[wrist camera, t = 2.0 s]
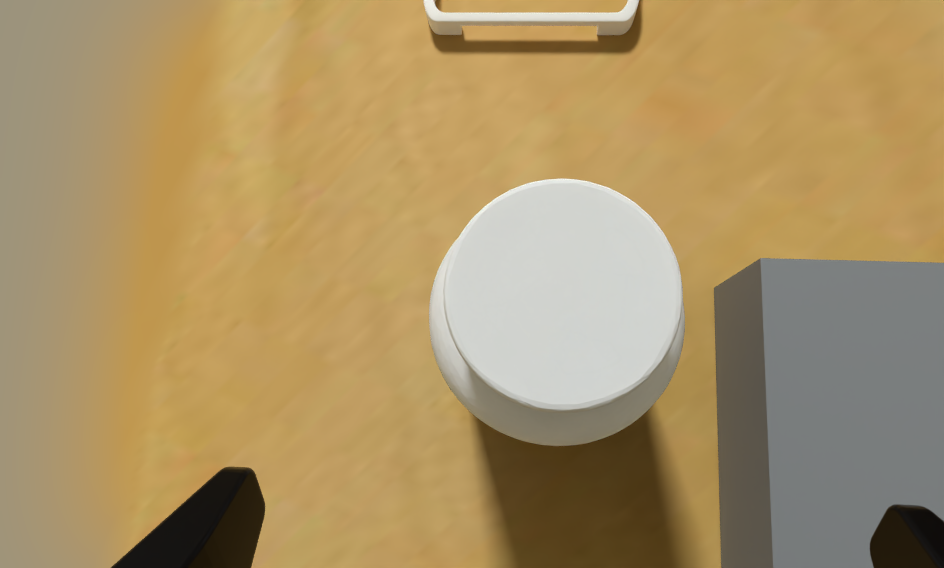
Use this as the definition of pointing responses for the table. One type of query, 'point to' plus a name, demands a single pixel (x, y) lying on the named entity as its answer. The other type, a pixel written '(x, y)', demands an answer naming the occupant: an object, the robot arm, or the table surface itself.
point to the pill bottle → (558, 313)
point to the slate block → (826, 406)
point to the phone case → (531, 19)
